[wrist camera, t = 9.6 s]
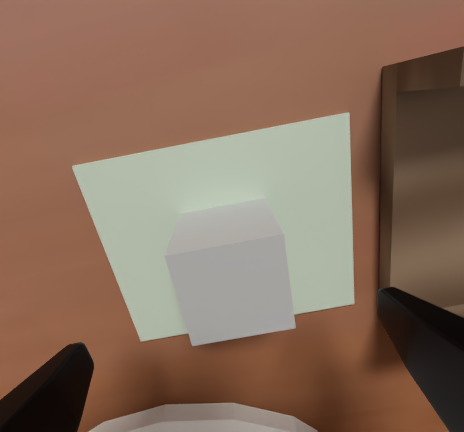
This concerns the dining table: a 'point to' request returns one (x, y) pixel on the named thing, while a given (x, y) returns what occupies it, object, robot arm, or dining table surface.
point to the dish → (204, 420)
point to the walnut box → (423, 179)
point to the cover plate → (224, 178)
